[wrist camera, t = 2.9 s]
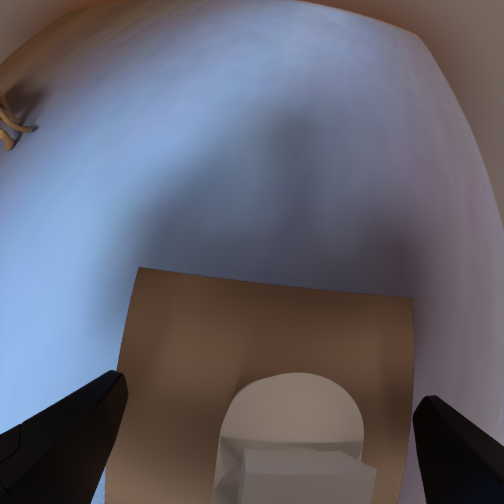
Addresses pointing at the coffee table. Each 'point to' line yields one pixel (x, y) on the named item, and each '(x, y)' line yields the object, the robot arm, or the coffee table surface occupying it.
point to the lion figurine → (10, 123)
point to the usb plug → (292, 445)
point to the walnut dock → (249, 375)
